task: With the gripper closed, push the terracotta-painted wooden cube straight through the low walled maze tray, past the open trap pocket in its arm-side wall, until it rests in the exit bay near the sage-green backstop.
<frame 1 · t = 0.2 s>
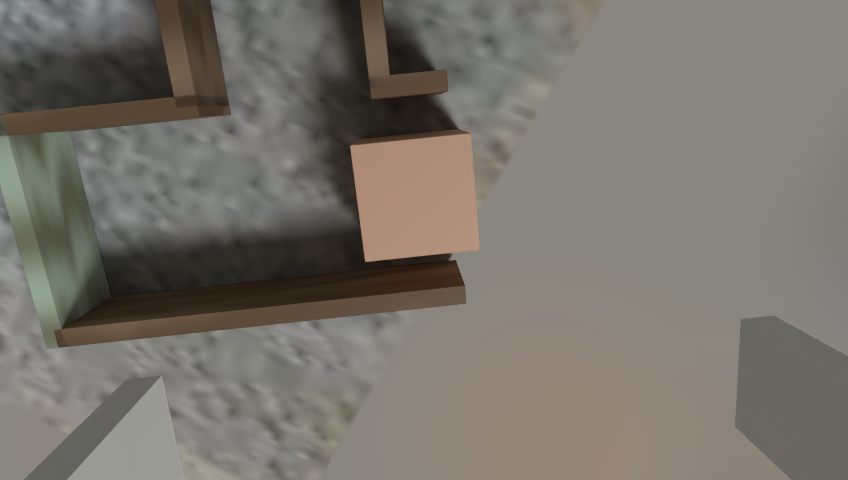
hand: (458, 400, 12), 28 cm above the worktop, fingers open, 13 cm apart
trap pocket: (289, 14, 36), on the worktop
low walled maze tray: (218, 204, 39), on the worktop
block: (413, 183, 39), on the worktop
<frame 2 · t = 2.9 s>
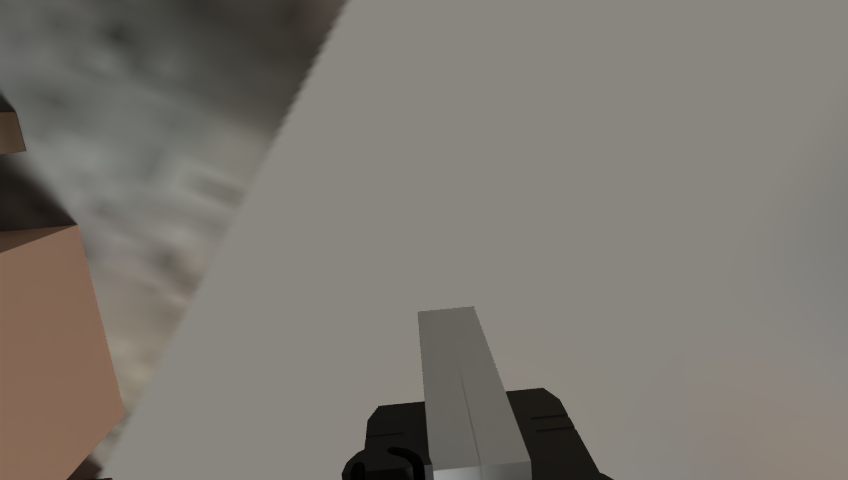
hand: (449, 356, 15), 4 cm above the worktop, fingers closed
block: (1, 332, 19), on the worktop
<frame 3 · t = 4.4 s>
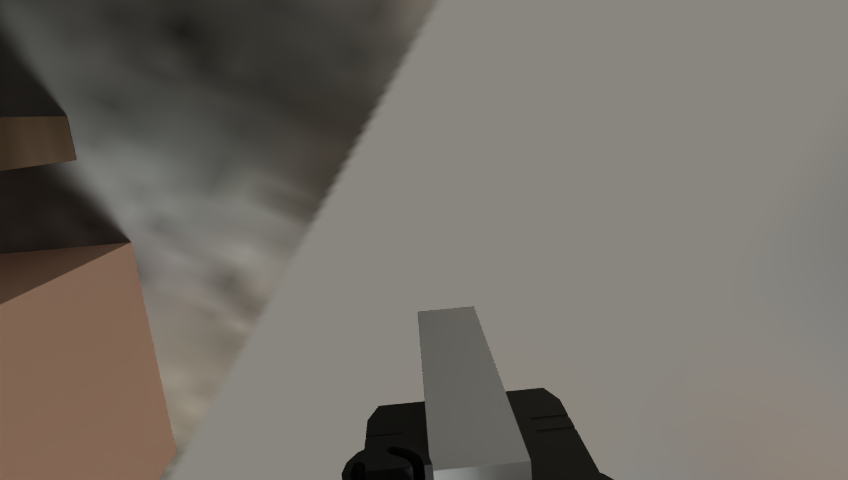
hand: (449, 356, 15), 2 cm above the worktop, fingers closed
block: (41, 361, 17), on the worktop
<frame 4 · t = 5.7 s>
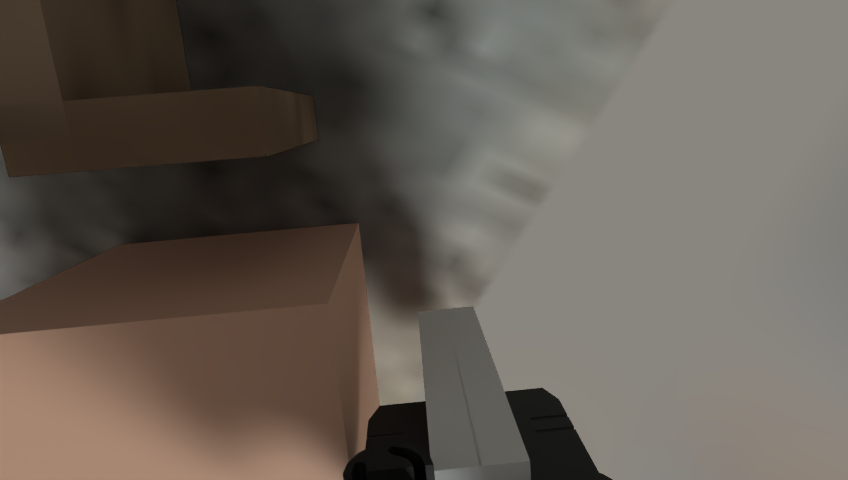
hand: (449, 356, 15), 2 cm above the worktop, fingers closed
block: (258, 343, 17), on the worktop, touching gripper
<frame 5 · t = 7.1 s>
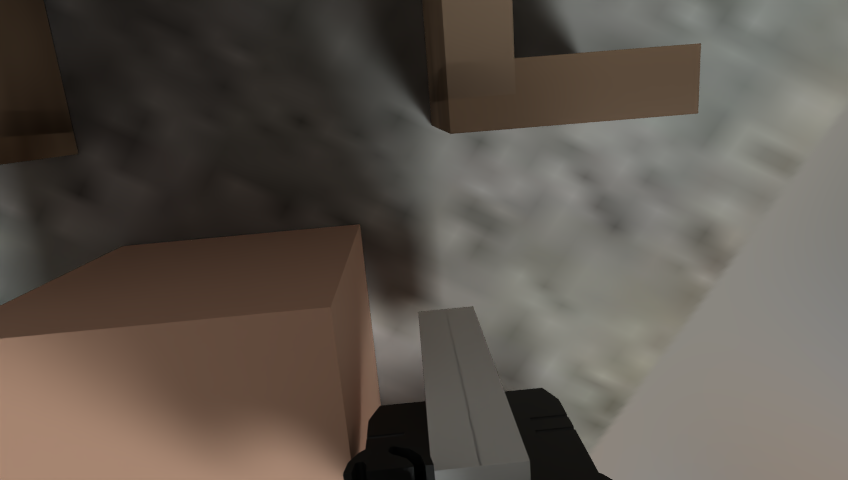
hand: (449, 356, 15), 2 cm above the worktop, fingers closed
low walled maze tray: (57, 355, 17), on the worktop
block: (260, 344, 17), on the worktop, touching gripper
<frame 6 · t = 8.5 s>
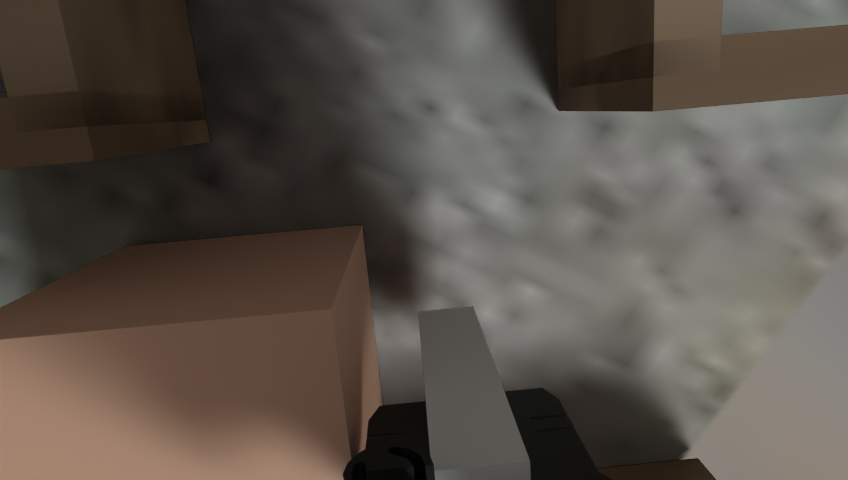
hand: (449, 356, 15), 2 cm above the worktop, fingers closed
low walled maze tray: (179, 343, 17), on the worktop
block: (262, 344, 17), on the worktop, touching gripper
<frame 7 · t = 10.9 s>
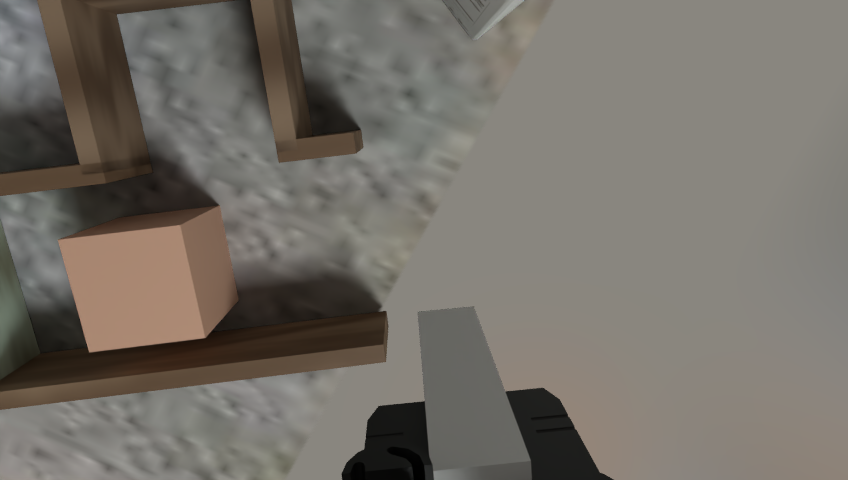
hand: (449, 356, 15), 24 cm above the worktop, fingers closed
trap pocket: (207, 73, 36), on the worktop
low walled maze tray: (144, 260, 38), on the worktop
block: (180, 259, 39), on the worktop
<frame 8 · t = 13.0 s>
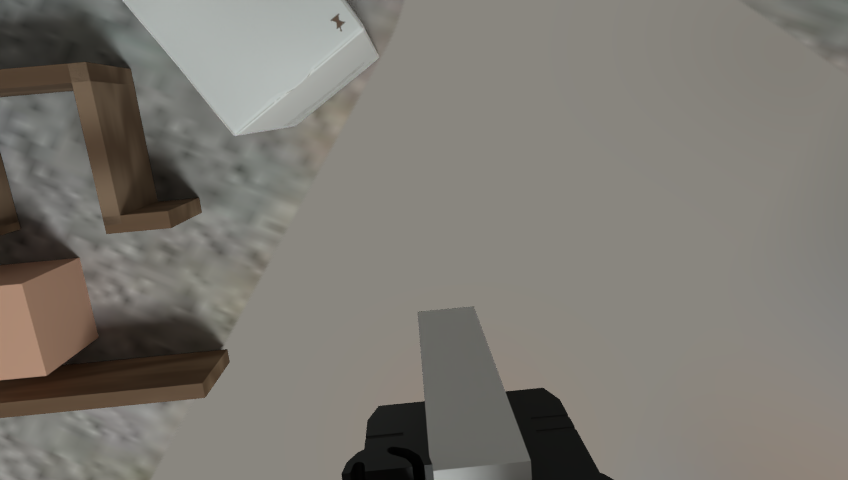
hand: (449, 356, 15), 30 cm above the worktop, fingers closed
supplement box: (299, 46, 41), on the worktop
trap pocket: (65, 148, 42), on the worktop
low walled maze tray: (15, 301, 45), on the worktop
block: (47, 301, 45), on the worktop
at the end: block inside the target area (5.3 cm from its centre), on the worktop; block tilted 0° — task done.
